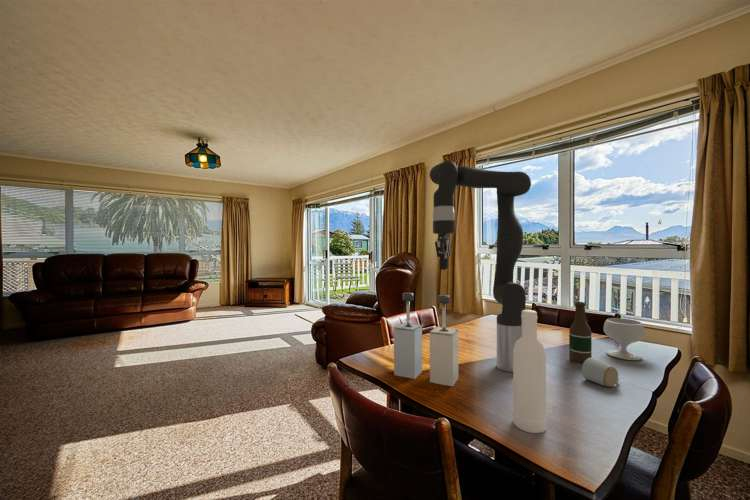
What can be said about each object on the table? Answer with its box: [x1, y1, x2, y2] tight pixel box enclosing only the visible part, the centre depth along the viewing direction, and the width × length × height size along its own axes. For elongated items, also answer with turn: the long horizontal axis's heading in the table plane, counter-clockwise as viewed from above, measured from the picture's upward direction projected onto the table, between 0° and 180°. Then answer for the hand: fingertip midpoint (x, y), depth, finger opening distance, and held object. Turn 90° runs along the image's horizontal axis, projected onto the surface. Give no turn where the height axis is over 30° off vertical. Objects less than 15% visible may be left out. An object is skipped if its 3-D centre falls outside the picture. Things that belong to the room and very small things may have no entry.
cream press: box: [429, 326, 459, 388], centre depth 112 cm, size 8×8×18 cm
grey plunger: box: [402, 292, 414, 327], centre depth 118 cm, size 6×6×15 cm
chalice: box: [603, 317, 646, 361], centre depth 135 cm, size 14×14×15 cm
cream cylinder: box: [581, 357, 620, 388], centre depth 109 cm, size 11×8×8 cm
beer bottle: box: [568, 301, 593, 365], centre depth 130 cm, size 8×8×24 cm
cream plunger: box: [437, 294, 451, 332], centre depth 112 cm, size 6×6×15 cm
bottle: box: [512, 309, 547, 434], centre depth 83 cm, size 8×8×30 cm
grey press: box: [393, 322, 423, 380], centre depth 118 cm, size 8×8×18 cm
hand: (443, 269), depth 112 cm, fingers closed
